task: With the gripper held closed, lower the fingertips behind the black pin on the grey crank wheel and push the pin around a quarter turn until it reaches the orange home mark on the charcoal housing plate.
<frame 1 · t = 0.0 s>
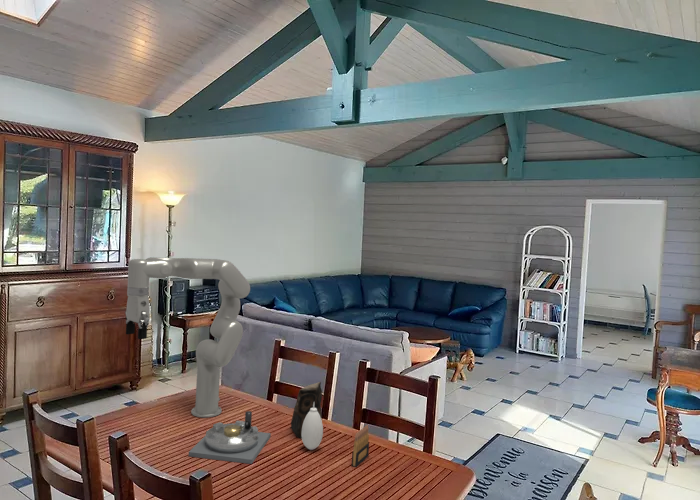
hand: (136, 336, 191), 37 cm above the table, tool pointing down, fingers open, 9 cm apart
housing plate: (231, 446, 186), on the table
grey crank wheel: (232, 429, 186), point 6 cm above the table, hinge at 0.0°
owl: (304, 431, 204), on the table
brown flat upright block: (360, 461, 181), on the table
white air blower bulb: (311, 449, 188), on the table
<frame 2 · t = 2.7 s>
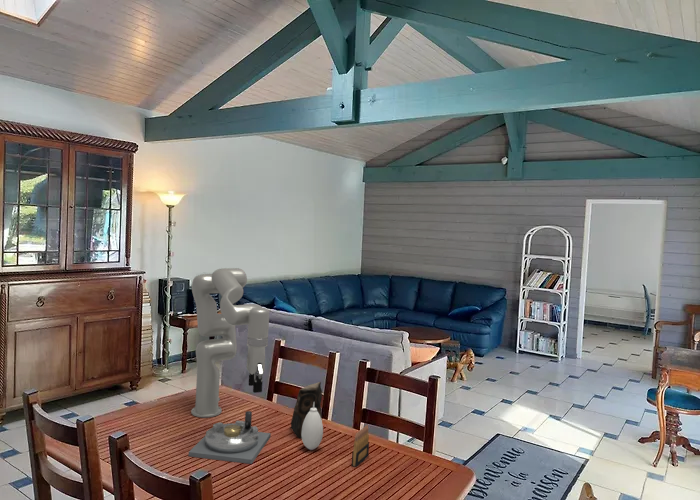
hand: (255, 388, 186), 22 cm above the table, tool pointing down, fingers open, 7 cm apart
nothing on the table moved.
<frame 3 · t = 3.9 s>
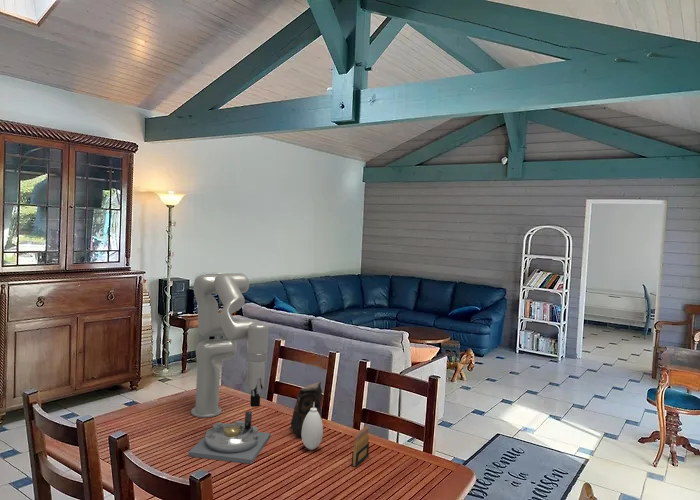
hand: (255, 405, 186), 15 cm above the table, tool pointing down, fingers closed
nothing on the table moved.
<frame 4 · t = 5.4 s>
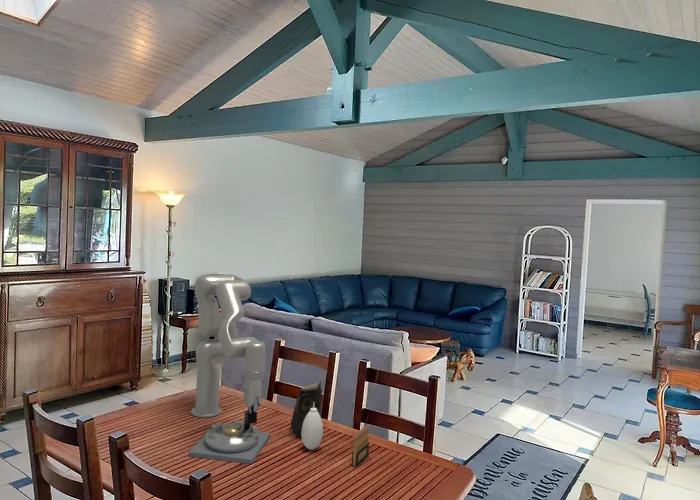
hand: (252, 422, 189), 8 cm above the table, tool pointing down, fingers closed
grey crank wheel: (232, 429, 186), point 6 cm above the table, hinge at 3.3°
everything else where it was.
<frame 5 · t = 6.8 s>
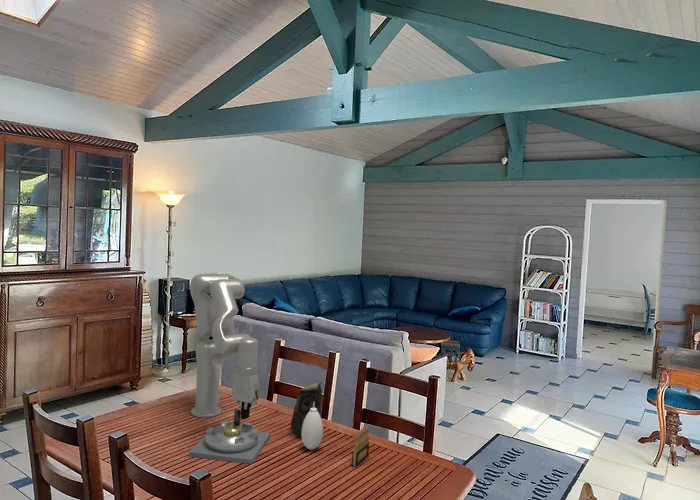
hand: (244, 418, 192), 8 cm above the table, tool pointing down, fingers closed
grey crank wheel: (232, 429, 186), point 6 cm above the table, hinge at 37.7°, touching gripper
everything else where it was.
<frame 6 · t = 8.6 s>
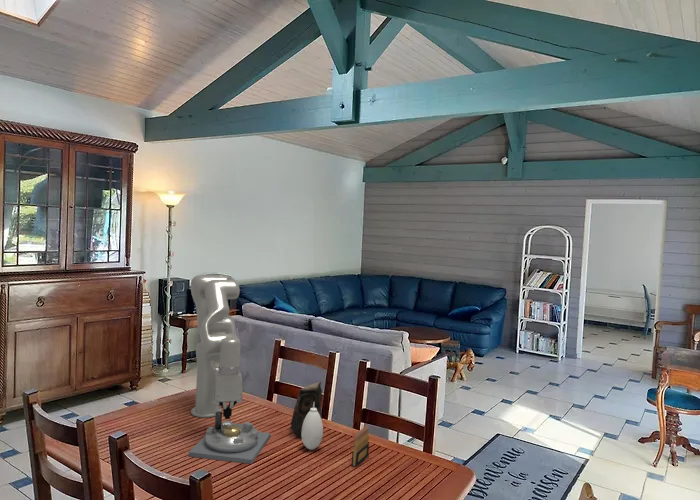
hand: (227, 418, 191), 8 cm above the table, tool pointing down, fingers closed
grey crank wheel: (232, 429, 186), point 6 cm above the table, hinge at 95.2°, touching gripper
everything else where it was.
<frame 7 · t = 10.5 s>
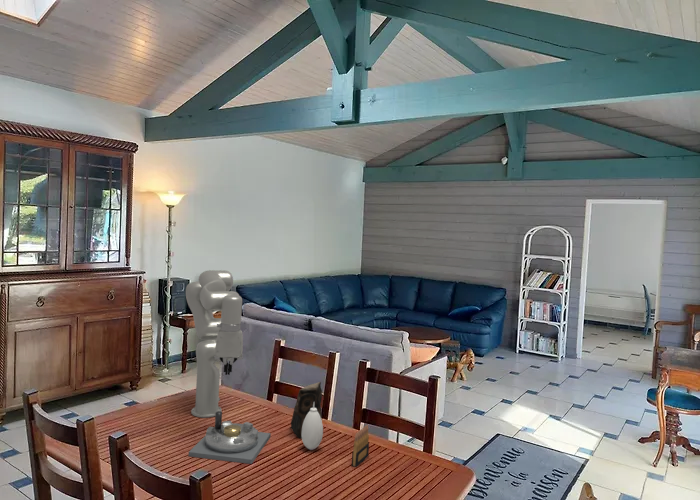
hand: (227, 373, 194), 24 cm above the table, tool pointing down, fingers closed
grey crank wheel: (232, 429, 186), point 6 cm above the table, hinge at 95.2°
everything else where it was.
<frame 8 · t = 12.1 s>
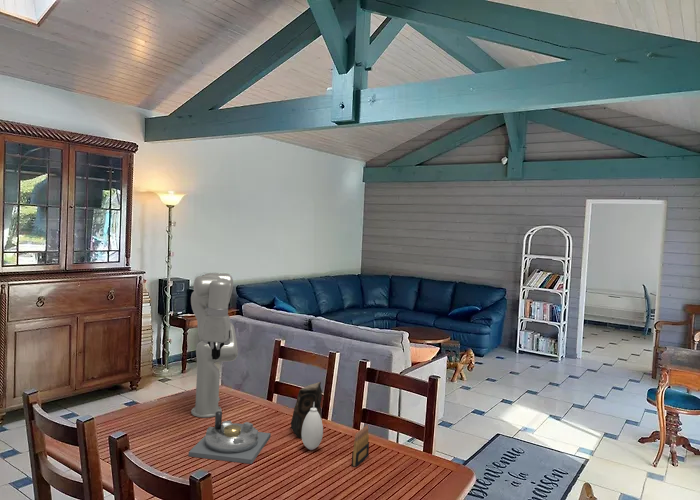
hand: (215, 358, 197), 29 cm above the table, tool pointing down, fingers closed
nothing on the table moved.
at the end: grey crank wheel at +95° (first picture: +0°) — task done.
